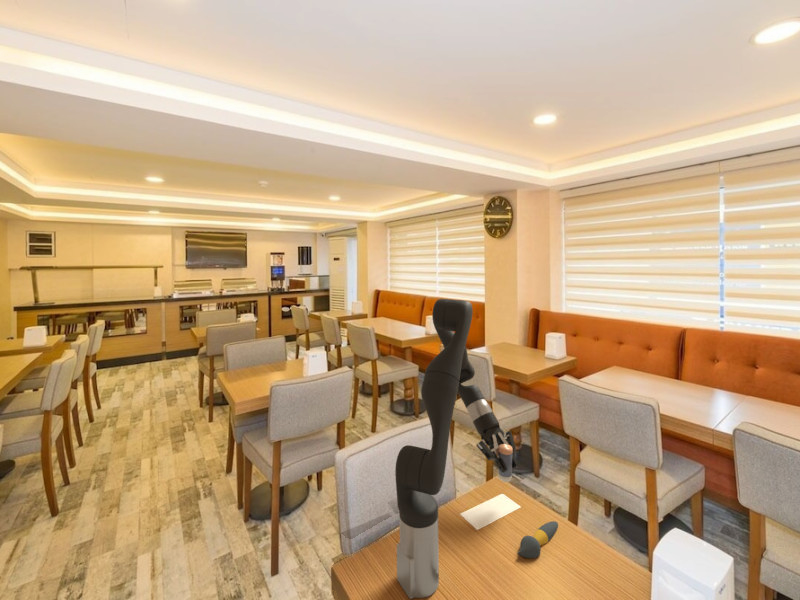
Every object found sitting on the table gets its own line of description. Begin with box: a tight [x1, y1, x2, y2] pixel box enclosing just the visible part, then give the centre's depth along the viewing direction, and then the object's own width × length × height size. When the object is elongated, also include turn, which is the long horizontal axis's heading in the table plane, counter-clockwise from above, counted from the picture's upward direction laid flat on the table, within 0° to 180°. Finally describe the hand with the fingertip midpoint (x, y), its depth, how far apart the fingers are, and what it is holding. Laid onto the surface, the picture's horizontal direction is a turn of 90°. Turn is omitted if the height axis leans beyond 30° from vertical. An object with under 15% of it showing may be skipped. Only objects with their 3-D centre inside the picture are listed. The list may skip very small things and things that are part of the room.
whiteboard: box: [459, 493, 522, 531], centre depth 108 cm, size 20×9×1 cm, turn 120°
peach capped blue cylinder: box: [498, 444, 514, 483], centre depth 110 cm, size 4×4×10 cm
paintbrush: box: [517, 520, 559, 559], centre depth 96 cm, size 20×5×5 cm, turn 136°
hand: (510, 468), depth 108 cm, fingers closed on peach capped blue cylinder, 4 cm apart
